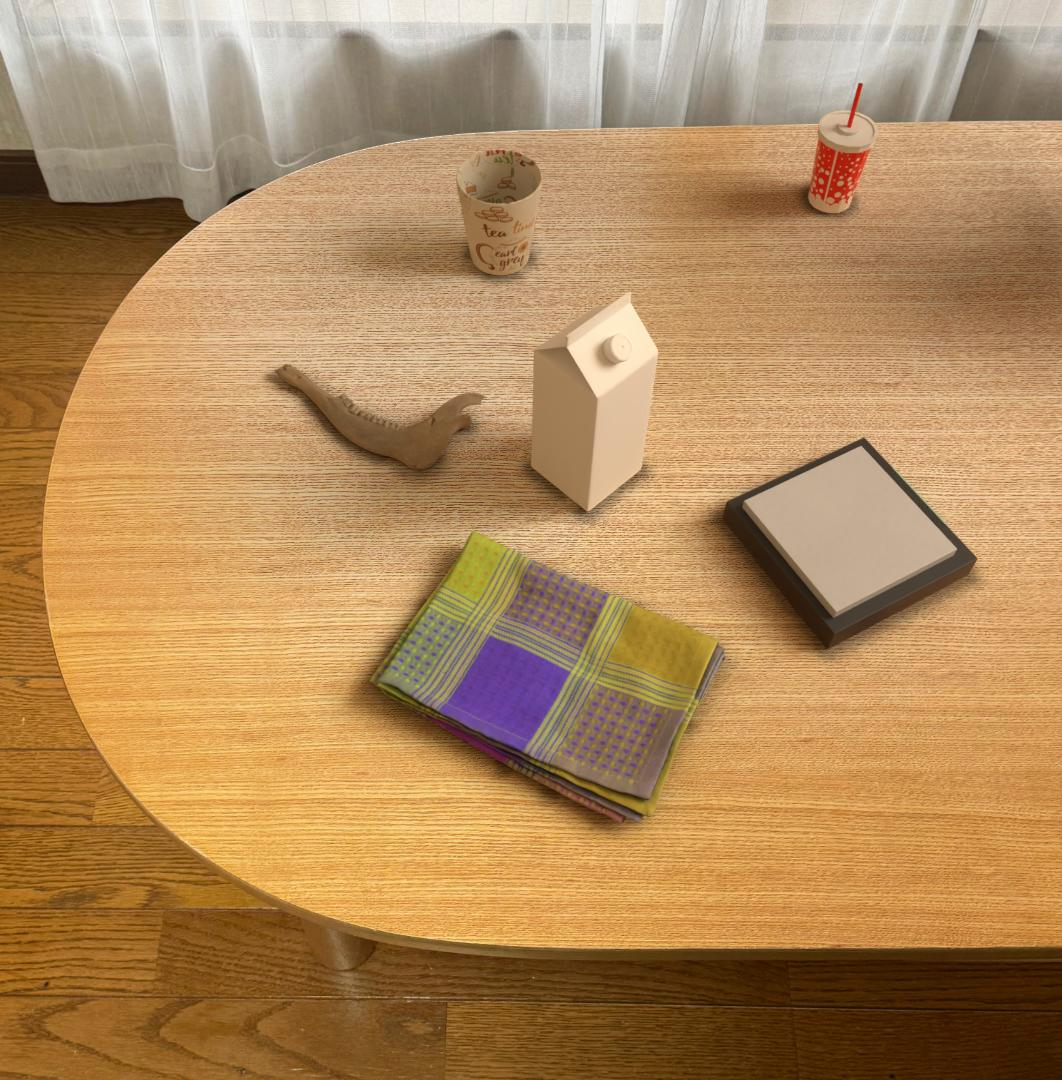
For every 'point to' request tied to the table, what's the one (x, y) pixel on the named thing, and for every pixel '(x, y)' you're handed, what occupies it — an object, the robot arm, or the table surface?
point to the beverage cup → (840, 157)
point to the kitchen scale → (847, 541)
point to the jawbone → (388, 423)
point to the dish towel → (553, 677)
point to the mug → (499, 208)
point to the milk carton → (593, 402)
